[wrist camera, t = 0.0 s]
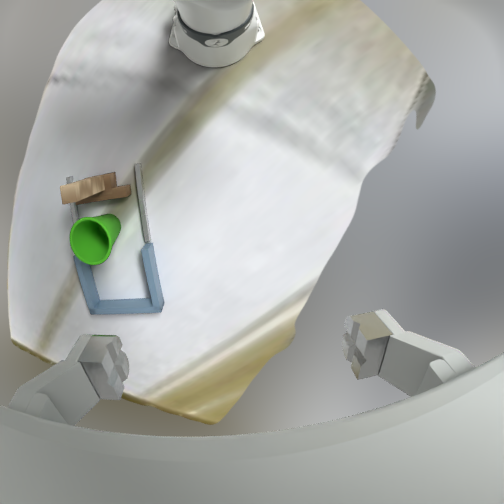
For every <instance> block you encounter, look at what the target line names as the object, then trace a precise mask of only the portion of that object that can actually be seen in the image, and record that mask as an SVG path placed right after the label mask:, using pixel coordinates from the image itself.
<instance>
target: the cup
mask: <svg viewBox="0 0 504 504" xmlns="http://www.w3.org/2000/svg"><path fill="white" fill-rule="evenodd" d="M120 230H121V224H120V221H119V219H118V218H117V217H116V216H114V215H112V214H106V215H101V216H96V217H84V218H81V219H79V220H77V221H76V222H75V223H74V225H73V227H72V228H71V232H70V245H71V248H72V250H73V252H74V254H75V255H76V257H77V258H78V259H79V260H81V261H82V262H84V263H86V264H89V265H98V264H101V263H103V262H104V261H105V260H107V258H108V257H109V255H110V253H111V249H112V246H113V244H114V242H115V240H116V238H117V236H118V235H119V233H120Z"/></svg>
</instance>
